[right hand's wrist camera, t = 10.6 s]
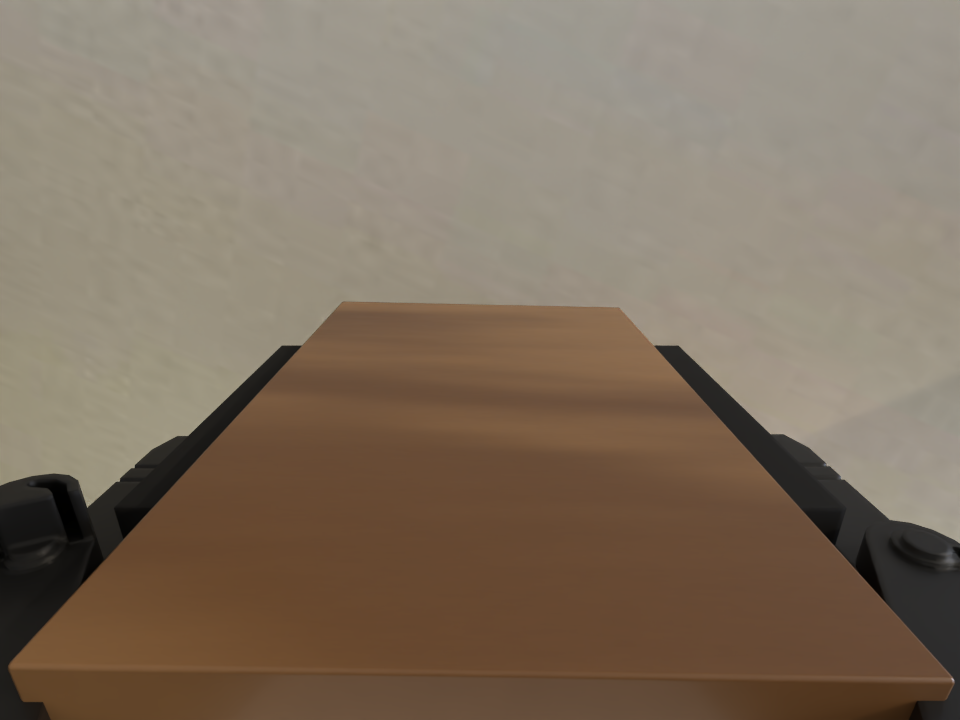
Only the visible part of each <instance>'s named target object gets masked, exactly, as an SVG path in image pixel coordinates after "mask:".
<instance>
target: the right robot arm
mask: <svg viewBox="0 0 960 720" xmlns="http://www.w3.org/2000/svg"><path fill="white" fill-rule="evenodd" d="M300 347H301V346H281V347H280V348H279V349H278V350H277V351H276V352H275V353H274V354H273V355H272V356H271V357H270V358H269V359H268V360H267V361H266V362H265V363H264V364H263V365H261V366H260V367H259V368H258V369H257V370H256V371H255V372H254V373H253V374H252V375H251V376H250V377H249V378H248V379H247V380H246V381H245V382H244V383H243V384H242V385H241V386H240V387H239V388H238V389H237V390H236V391H234V392H233V393H232V394H231V395H230V396H229V397H228V398H227V399H226V400H225V401H224V402H223V403H222V404H221V405H220V406H219V407H218V408H217V409H216V410H215V411H214V412H213V413H212V414H211V415H210V416H209V417H207V418H206V419H205V420H204V421H203V422H202V423H201V424H200V425H199V426H198V427H197V428H196V429H195V430H194V431H193V432H192V433H191V434H190V435H189V436H177V437H175V438H173V439H171V440H169V441H167V442H166V443H164V444H162V445H160V446H158V447H156V448H154V449H152V450H151V451H150V452H149V453H148V454H147V455H146V456H145V457H143V458H142V459H141V460H140V461H139V462H138V463H137V464H136V465H135V468H131V469H130V470H129V471H128V472H127V473H126V474H125V475H123V476H122V477H121V478H120V482H116V483H115V484H113V485H112V486H111V487H110V488H109V489H108V490H107V491H106V492H105V493H103V494H102V495H101V496H100V497H99V498H98V499H97V500H96V501H95V502H93V503H92V504H91V505H90V506H89V507H88V508H87V506H86V503H85V500H84V497H83V494H82V491H81V488H80V485H79V482H78V480H76V479H75V478H73V477H71V476H70V475H62V474H46V475H38V476H31V477H27V478H24V479H20V480H16V481H12V482H9V483H6V484H4V485H1V486H0V720H51V719H50V717H49V714H48V712H47V710H46V708H45V705H44V703H43V702H23V701H21V699H20V696H19V694H18V692H17V689H16V687H15V685H14V682H13V680H12V678H11V675H10V673H9V671H8V665H9V663H10V662H11V661H12V660H13V659H14V657H15V656H16V655H17V654H18V653H19V652H20V651H21V650H22V649H23V648H24V647H25V646H26V644H27V643H28V642H29V641H30V640H31V639H32V638H33V637H34V636H35V635H36V634H37V633H38V631H39V630H40V629H41V628H42V627H43V626H44V625H45V624H46V623H47V622H48V621H49V620H50V618H51V617H52V616H53V615H54V614H55V613H56V612H57V611H58V610H59V609H60V608H61V607H62V605H63V604H64V603H65V602H66V601H67V600H68V599H69V598H70V597H71V596H72V595H73V594H74V592H75V591H76V590H77V589H78V588H79V587H80V586H81V585H82V584H83V583H84V582H85V581H86V579H87V578H88V577H89V576H90V575H91V574H92V573H93V572H94V571H95V570H96V569H97V568H98V566H99V565H100V564H101V563H102V562H103V561H104V560H105V559H106V558H107V557H108V556H109V555H110V553H111V552H112V551H113V550H114V549H115V548H116V547H117V546H118V545H119V544H120V543H121V542H122V540H123V539H124V538H125V537H126V536H127V535H128V534H129V533H130V532H131V531H132V530H133V528H134V527H135V526H136V525H137V524H138V523H139V522H140V521H141V520H142V519H143V518H144V517H145V515H146V514H147V513H148V512H149V511H150V510H151V509H152V508H153V507H154V506H155V505H156V504H157V502H158V501H159V500H160V499H161V498H162V497H163V496H164V495H165V494H166V493H167V492H168V491H169V489H170V488H171V487H172V486H173V485H174V484H175V483H176V482H177V481H178V480H179V479H180V478H181V476H182V475H183V474H184V473H185V472H186V471H187V470H188V469H189V468H190V467H191V466H192V465H193V463H194V462H195V461H196V460H197V459H198V458H199V457H200V456H201V455H202V454H203V453H204V452H205V450H206V449H207V448H208V447H209V446H210V445H211V444H212V443H213V442H214V441H215V440H216V439H217V437H218V436H219V435H220V434H221V433H222V432H223V431H224V430H225V429H226V428H227V427H228V426H229V424H230V423H231V422H232V421H233V420H234V419H235V418H236V417H237V416H238V415H239V414H240V413H241V411H242V410H243V409H244V408H245V407H246V406H247V405H248V404H249V403H250V402H251V401H252V400H253V398H254V397H255V396H256V395H257V394H258V393H259V392H260V391H261V390H262V389H263V388H264V386H265V385H266V384H267V383H268V382H269V381H270V380H271V379H272V378H273V377H274V376H275V375H276V373H277V372H278V371H279V370H280V369H281V368H282V367H283V366H284V365H285V364H286V363H287V362H288V360H289V359H290V358H291V357H292V356H293V355H294V354H295V353H296V352H297V351H298V350H299V349H300ZM654 347H655V348H656V349H657V350H658V351H659V352H660V354H661V355H662V356H663V357H664V358H665V359H666V360H667V361H668V362H669V363H670V365H671V366H672V367H673V368H674V369H675V370H676V371H677V372H678V373H679V375H680V376H681V377H682V378H683V379H684V380H685V381H686V382H687V383H688V385H689V386H690V387H691V388H692V389H693V390H694V391H695V392H696V393H697V394H698V396H699V397H700V398H701V399H702V400H703V401H704V402H705V403H706V404H707V406H708V407H709V408H710V409H711V410H712V411H713V412H714V413H715V414H716V416H717V417H718V418H719V419H720V420H721V421H722V422H723V423H724V424H725V426H726V427H727V428H728V429H729V430H730V431H731V432H732V433H733V434H734V435H735V437H736V438H737V439H738V440H739V441H740V442H741V443H742V444H743V445H744V447H745V448H746V449H747V450H748V451H749V452H750V453H751V454H752V455H753V457H754V458H755V459H756V460H757V461H758V462H759V463H760V464H761V465H762V466H763V468H764V469H765V470H766V471H767V472H768V473H769V474H770V475H771V476H772V478H773V479H774V480H775V481H776V482H777V483H778V484H779V485H780V486H781V488H782V489H783V490H784V491H785V492H786V493H787V494H788V495H789V496H790V498H791V499H792V500H793V501H794V502H795V503H796V504H797V505H798V506H799V507H800V509H801V510H802V511H803V512H804V513H805V514H806V515H807V516H808V517H809V519H810V520H811V521H812V522H813V523H814V524H815V525H816V526H817V527H818V529H819V530H820V531H821V532H822V533H823V534H824V535H825V536H826V537H827V538H828V540H829V541H830V542H831V543H832V544H833V545H834V546H835V547H836V548H837V550H838V551H839V552H840V553H841V554H842V555H843V556H844V557H845V558H846V560H847V561H848V562H849V563H850V564H851V565H852V566H853V567H854V568H855V570H856V571H857V572H858V573H859V574H860V575H861V576H862V577H863V578H864V579H865V581H866V582H867V583H868V584H869V585H870V586H871V587H872V588H873V589H874V591H875V592H876V593H877V594H878V595H879V596H880V597H881V598H882V599H883V601H884V602H885V603H886V604H887V605H888V606H889V607H890V608H891V609H892V610H893V612H894V613H895V614H896V615H897V616H898V617H899V618H900V619H901V620H902V622H903V623H904V624H905V625H906V626H907V627H908V628H909V629H910V630H911V632H912V633H913V634H914V635H915V636H916V637H917V638H918V639H919V640H920V642H921V643H922V644H923V645H924V646H925V647H926V648H927V649H928V650H929V651H930V653H931V654H932V655H933V656H934V657H935V658H936V659H937V660H938V661H939V663H940V664H941V665H942V666H943V667H944V668H945V669H946V670H947V671H948V673H949V674H950V675H951V676H952V677H953V679H954V683H955V684H954V686H953V688H952V690H951V692H950V694H949V696H948V698H947V699H946V700H945V701H917V702H916V705H915V707H914V709H913V711H912V714H911V716H910V718H909V720H960V544H959V543H958V542H956V541H955V540H953V539H951V538H949V537H947V536H945V535H942V534H940V533H938V532H936V531H934V530H932V529H928V528H925V527H922V526H919V525H915V524H912V523H907V522H900V521H892V520H889V519H888V518H887V517H886V516H885V515H883V514H882V513H881V512H880V511H879V510H878V509H877V508H876V507H875V506H873V505H872V504H871V503H870V502H869V501H868V500H867V499H866V498H864V497H863V496H862V495H861V494H860V493H859V492H858V491H857V490H855V489H854V488H853V487H852V486H851V485H850V484H849V483H848V482H846V481H845V480H841V476H840V475H839V474H838V473H836V472H835V471H834V470H833V469H832V468H831V467H830V466H826V463H825V462H824V461H823V460H822V459H821V458H820V457H818V456H817V455H816V454H815V453H814V452H813V451H812V450H811V449H809V448H808V447H806V446H804V445H802V444H801V443H799V442H797V441H795V440H793V439H791V438H789V437H787V436H785V435H784V434H770V433H768V432H767V431H766V430H765V429H764V428H763V427H762V426H761V425H760V424H759V423H758V422H757V421H756V420H755V419H754V418H753V417H752V416H751V415H750V414H749V413H748V412H747V411H746V410H745V409H744V408H743V407H741V406H740V405H739V404H738V403H737V402H736V401H735V400H734V399H733V398H732V397H731V396H730V395H729V394H728V393H727V392H726V391H725V390H724V389H723V388H722V387H721V386H720V385H719V384H718V383H717V382H716V381H714V380H713V379H712V378H711V377H710V376H709V375H708V374H707V373H706V372H705V371H704V370H703V369H702V368H701V367H700V366H699V365H698V364H697V363H696V362H695V361H694V360H693V359H692V358H691V357H690V356H689V355H687V354H686V353H685V352H684V351H683V350H682V349H681V348H680V347H679V346H654Z"/></svg>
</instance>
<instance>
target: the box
mask: <svg viewBox="0 0 960 720" xmlns="http://www.w3.org/2000/svg"><path fill="white" fill-rule="evenodd" d="M8 671H9V673H10V675H11V678H12V680H13V682H14V685H15V687H16V689H17V692H18V694H19V696H20V699H21V701H23V702H43V703H44V705H45V708H46V710H47V712H48V714H49V717H50V719H51V720H909V718H910V716H911V714H912V711H913V709H914V707H915V705H916V702H917V701H945V700H946V699H947V698H948V696H949V694H950V692H951V690H952V688H953V686H954V684H955V683H954V679H953V677H952V676H951V675H950V674H949V673H948V671H947V670H946V669H945V668H944V667H943V666H942V665H941V664H940V663H939V661H938V660H937V659H936V658H935V657H934V656H933V655H932V654H931V653H930V651H929V650H928V649H927V648H926V647H925V646H924V645H923V644H922V643H921V642H920V640H919V639H918V638H917V637H916V636H915V635H914V634H913V633H912V632H911V630H910V629H909V628H908V627H907V626H906V625H905V624H904V623H903V622H902V620H901V619H900V618H899V617H898V616H897V615H896V614H895V613H894V612H893V610H892V609H891V608H890V607H889V606H888V605H887V604H886V603H885V602H884V601H883V599H882V598H881V597H880V596H879V595H878V594H877V593H876V592H875V591H874V589H873V588H872V587H871V586H870V585H869V584H868V583H867V582H866V581H865V579H864V578H863V577H862V576H861V575H860V574H859V573H858V572H857V571H856V570H855V568H854V567H853V566H852V565H851V564H850V563H849V562H848V561H847V560H846V558H845V557H844V556H843V555H842V554H841V553H840V552H839V551H838V550H837V548H836V547H835V546H834V545H833V544H832V543H831V542H830V541H829V540H828V538H827V537H826V536H825V535H824V534H823V533H822V532H821V531H820V530H819V529H818V527H817V526H816V525H815V524H814V523H813V522H812V521H811V520H810V519H809V517H808V516H807V515H806V514H805V513H804V512H803V511H802V510H801V509H800V507H799V506H798V505H797V504H796V503H795V502H794V501H793V500H792V499H791V498H790V496H789V495H788V494H787V493H786V492H785V491H784V490H783V489H782V488H781V486H780V485H779V484H778V483H777V482H776V481H775V480H774V479H773V478H772V476H771V475H770V474H769V473H768V472H767V471H766V470H765V469H764V468H763V466H762V465H761V464H760V463H759V462H758V461H757V460H756V459H755V458H754V457H753V455H752V454H751V453H750V452H749V451H748V450H747V449H746V448H745V447H744V445H743V444H742V443H741V442H740V441H739V440H738V439H737V438H736V437H735V435H734V434H733V433H732V432H731V431H730V430H729V429H728V428H727V427H726V426H725V424H724V423H723V422H722V421H721V420H720V419H719V418H718V417H717V416H716V414H715V413H714V412H713V411H712V410H711V409H710V408H709V407H708V406H707V404H706V403H705V402H704V401H703V400H702V399H701V398H700V397H699V396H698V394H697V393H696V392H695V391H694V390H693V389H692V388H691V387H690V386H689V385H688V383H687V382H686V381H685V380H684V379H683V378H682V377H681V376H680V375H679V373H678V372H677V371H676V370H675V369H674V368H673V367H672V366H671V365H670V363H669V362H668V361H667V360H666V359H665V358H664V357H663V356H662V355H661V354H660V352H659V351H658V350H657V349H656V348H655V347H654V346H653V345H652V344H651V342H650V341H649V340H648V339H647V338H646V337H645V336H644V335H643V334H642V332H641V331H640V330H639V329H638V328H637V327H636V326H635V325H634V324H633V322H632V321H631V320H630V319H629V318H628V317H627V316H626V315H625V314H624V313H623V311H622V310H621V309H620V308H611V307H565V306H519V305H472V304H426V303H380V302H342V303H341V304H340V305H339V306H338V307H337V308H336V310H335V311H334V312H333V313H332V314H331V315H330V316H329V317H328V318H327V319H326V320H325V321H324V323H323V324H322V325H321V326H320V327H319V328H318V329H317V330H316V331H315V332H314V333H313V334H312V336H311V337H310V338H309V339H308V340H307V341H306V342H305V343H304V344H303V345H302V346H301V347H300V349H299V350H298V351H297V352H296V353H295V354H294V355H293V356H292V357H291V358H290V359H289V360H288V362H287V363H286V364H285V365H284V366H283V367H282V368H281V369H280V370H279V371H278V372H277V373H276V375H275V376H274V377H273V378H272V379H271V380H270V381H269V382H268V383H267V384H266V385H265V386H264V388H263V389H262V390H261V391H260V392H259V393H258V394H257V395H256V396H255V397H254V398H253V400H252V401H251V402H250V403H249V404H248V405H247V406H246V407H245V408H244V409H243V410H242V411H241V413H240V414H239V415H238V416H237V417H236V418H235V419H234V420H233V421H232V422H231V423H230V424H229V426H228V427H227V428H226V429H225V430H224V431H223V432H222V433H221V434H220V435H219V436H218V437H217V439H216V440H215V441H214V442H213V443H212V444H211V445H210V446H209V447H208V448H207V449H206V450H205V452H204V453H203V454H202V455H201V456H200V457H199V458H198V459H197V460H196V461H195V462H194V463H193V465H192V466H191V467H190V468H189V469H188V470H187V471H186V472H185V473H184V474H183V475H182V476H181V478H180V479H179V480H178V481H177V482H176V483H175V484H174V485H173V486H172V487H171V488H170V489H169V491H168V492H167V493H166V494H165V495H164V496H163V497H162V498H161V499H160V500H159V501H158V502H157V504H156V505H155V506H154V507H153V508H152V509H151V510H150V511H149V512H148V513H147V514H146V515H145V517H144V518H143V519H142V520H141V521H140V522H139V523H138V524H137V525H136V526H135V527H134V528H133V530H132V531H131V532H130V533H129V534H128V535H127V536H126V537H125V538H124V539H123V540H122V542H121V543H120V544H119V545H118V546H117V547H116V548H115V549H114V550H113V551H112V552H111V553H110V555H109V556H108V557H107V558H106V559H105V560H104V561H103V562H102V563H101V564H100V565H99V566H98V568H97V569H96V570H95V571H94V572H93V573H92V574H91V575H90V576H89V577H88V578H87V579H86V581H85V582H84V583H83V584H82V585H81V586H80V587H79V588H78V589H77V590H76V591H75V592H74V594H73V595H72V596H71V597H70V598H69V599H68V600H67V601H66V602H65V603H64V604H63V605H62V607H61V608H60V609H59V610H58V611H57V612H56V613H55V614H54V615H53V616H52V617H51V618H50V620H49V621H48V622H47V623H46V624H45V625H44V626H43V627H42V628H41V629H40V630H39V631H38V633H37V634H36V635H35V636H34V637H33V638H32V639H31V640H30V641H29V642H28V643H27V644H26V646H25V647H24V648H23V649H22V650H21V651H20V652H19V653H18V654H17V655H16V656H15V657H14V659H13V660H12V661H11V662H10V663H9V665H8Z"/></svg>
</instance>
